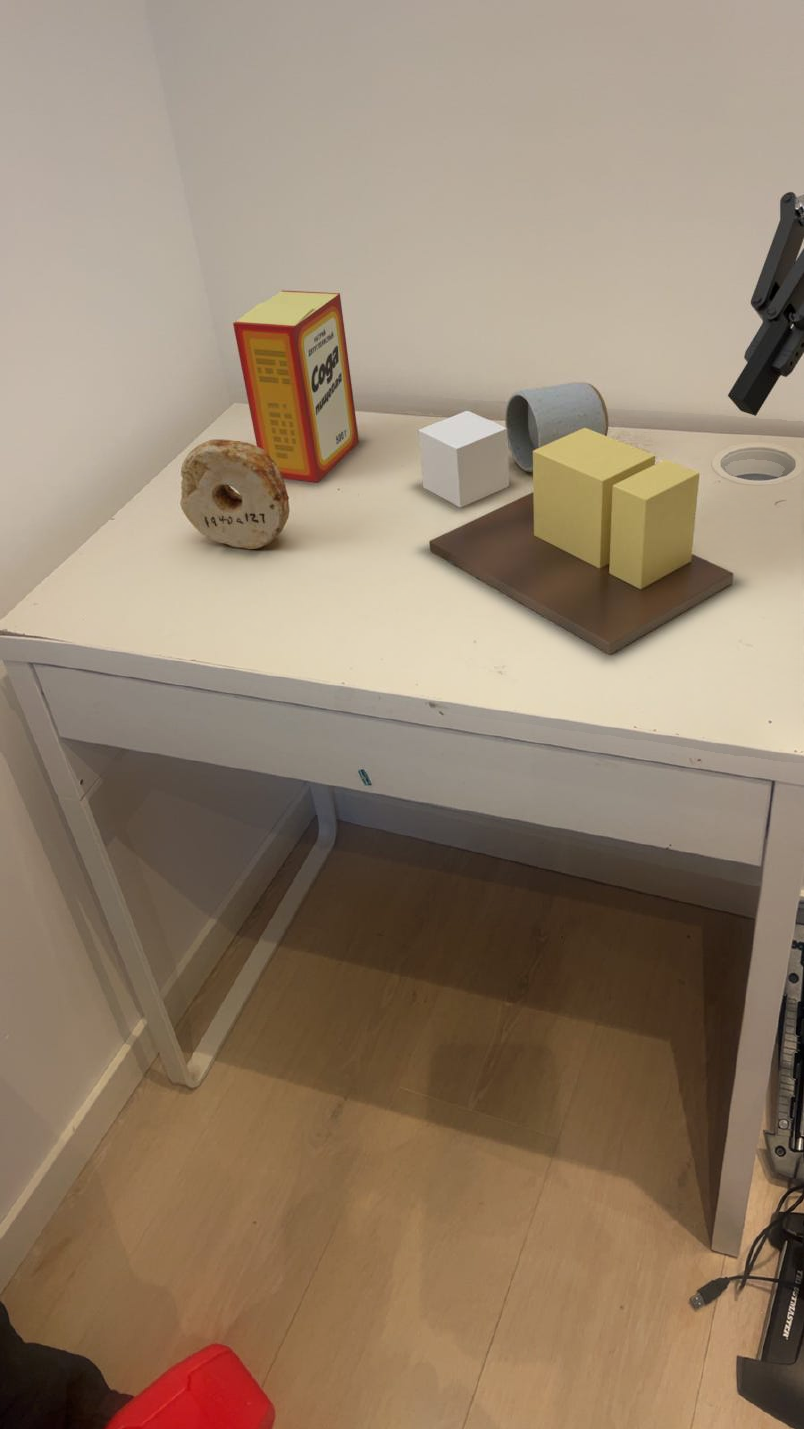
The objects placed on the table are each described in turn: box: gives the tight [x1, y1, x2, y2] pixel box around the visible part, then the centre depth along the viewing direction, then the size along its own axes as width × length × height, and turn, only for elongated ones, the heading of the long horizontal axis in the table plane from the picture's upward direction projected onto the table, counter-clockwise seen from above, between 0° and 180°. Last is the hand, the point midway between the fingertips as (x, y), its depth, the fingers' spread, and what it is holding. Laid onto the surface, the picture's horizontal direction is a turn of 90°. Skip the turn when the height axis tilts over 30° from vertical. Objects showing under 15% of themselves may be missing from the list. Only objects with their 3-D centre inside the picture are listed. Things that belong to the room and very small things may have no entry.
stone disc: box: [179, 438, 291, 550], centre depth 94 cm, size 10×4×10 cm, turn 69°
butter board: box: [429, 492, 735, 655], centre depth 88 cm, size 22×14×1 cm, turn 37°
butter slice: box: [609, 459, 700, 589], centre depth 83 cm, size 4×6×8 cm, turn 127°
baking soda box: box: [232, 289, 360, 483], centre depth 104 cm, size 10×6×16 cm
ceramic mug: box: [504, 381, 609, 473], centre depth 103 cm, size 11×8×8 cm
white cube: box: [417, 410, 510, 509], centre depth 99 cm, size 6×6×6 cm
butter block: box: [532, 428, 656, 569], centre depth 87 cm, size 8×6×8 cm
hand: (741, 405), depth 83 cm, fingers closed
